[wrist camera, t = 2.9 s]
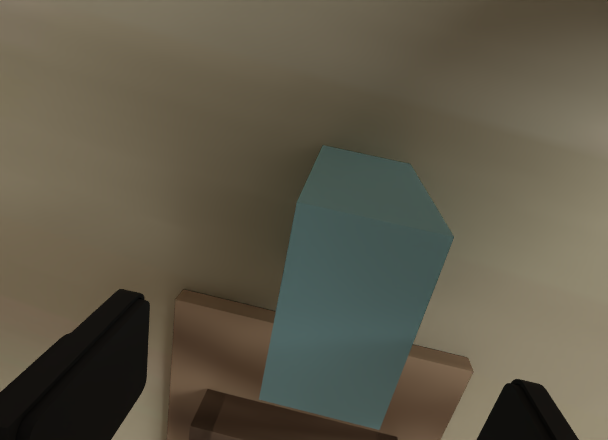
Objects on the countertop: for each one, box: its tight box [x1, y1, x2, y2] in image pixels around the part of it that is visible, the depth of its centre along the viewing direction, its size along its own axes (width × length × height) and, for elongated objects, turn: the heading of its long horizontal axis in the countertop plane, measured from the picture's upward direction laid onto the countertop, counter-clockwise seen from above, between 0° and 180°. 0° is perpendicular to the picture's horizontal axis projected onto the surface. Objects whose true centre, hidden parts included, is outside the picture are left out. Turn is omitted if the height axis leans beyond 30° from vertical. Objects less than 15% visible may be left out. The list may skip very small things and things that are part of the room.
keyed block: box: [259, 145, 454, 430], centre depth 14 cm, size 7×4×8 cm, turn 169°
